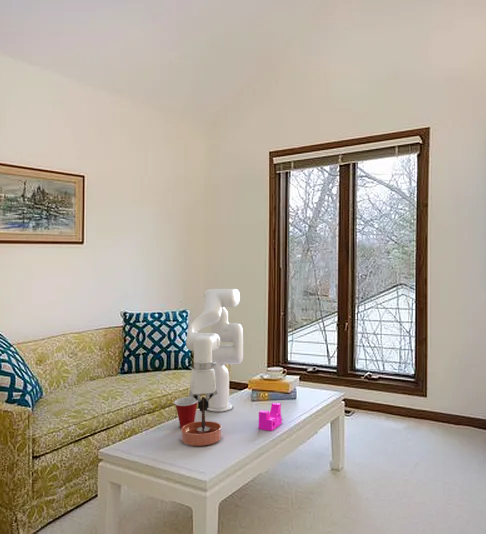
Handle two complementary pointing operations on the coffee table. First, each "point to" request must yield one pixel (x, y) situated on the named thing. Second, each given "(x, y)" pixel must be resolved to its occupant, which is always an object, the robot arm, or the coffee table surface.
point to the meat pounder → (203, 420)
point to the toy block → (270, 417)
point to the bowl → (195, 439)
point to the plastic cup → (186, 410)
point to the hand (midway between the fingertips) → (203, 409)
